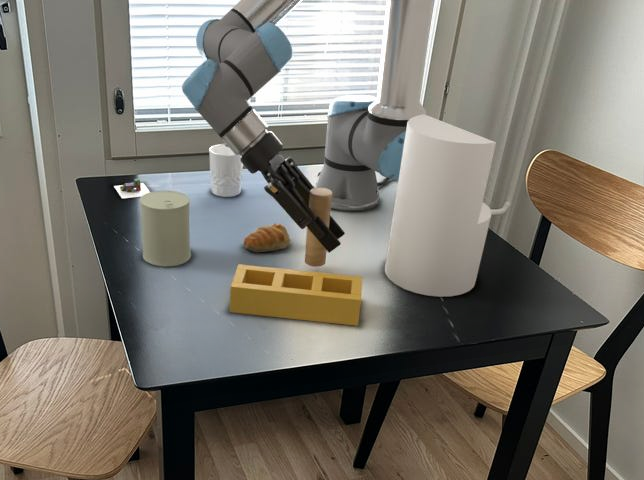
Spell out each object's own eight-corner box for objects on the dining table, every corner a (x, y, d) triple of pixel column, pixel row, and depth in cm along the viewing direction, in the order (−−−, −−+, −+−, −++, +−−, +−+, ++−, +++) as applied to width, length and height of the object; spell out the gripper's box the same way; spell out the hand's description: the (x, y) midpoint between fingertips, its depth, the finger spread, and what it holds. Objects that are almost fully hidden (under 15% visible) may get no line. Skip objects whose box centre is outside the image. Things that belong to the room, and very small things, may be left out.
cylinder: (426, 304, 128) (457, 149, 112) (366, 265, 140) (386, 119, 124) (495, 284, 136) (532, 136, 120) (432, 248, 148) (459, 109, 132)
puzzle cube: (137, 186, 167) (137, 176, 166) (140, 190, 165) (140, 180, 164) (119, 188, 166) (119, 178, 165) (122, 192, 164) (122, 182, 162)
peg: (317, 255, 138) (323, 185, 130) (329, 264, 136) (336, 193, 128) (300, 260, 136) (305, 189, 129) (312, 268, 134) (318, 197, 126)
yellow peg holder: (237, 289, 129) (238, 264, 126) (358, 301, 128) (362, 276, 125) (229, 312, 122) (230, 286, 119) (357, 326, 121) (361, 300, 118)
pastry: (256, 258, 140) (256, 239, 138) (235, 245, 144) (235, 227, 142) (292, 246, 145) (294, 229, 143) (272, 235, 149) (272, 217, 147)
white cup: (213, 184, 171) (213, 142, 166) (245, 187, 171) (246, 145, 165) (205, 196, 165) (205, 153, 159) (239, 199, 164) (240, 156, 158)
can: (150, 269, 134) (146, 209, 127) (137, 249, 140) (133, 190, 134) (197, 262, 137) (196, 203, 130) (182, 243, 144) (181, 185, 137)
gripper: (251, 142, 135) (329, 235, 142) (224, 172, 121) (313, 273, 128) (280, 116, 131) (359, 213, 138) (256, 144, 117) (345, 251, 124)
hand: (337, 242), depth 133 cm, fingers closed on peg, 4 cm apart
